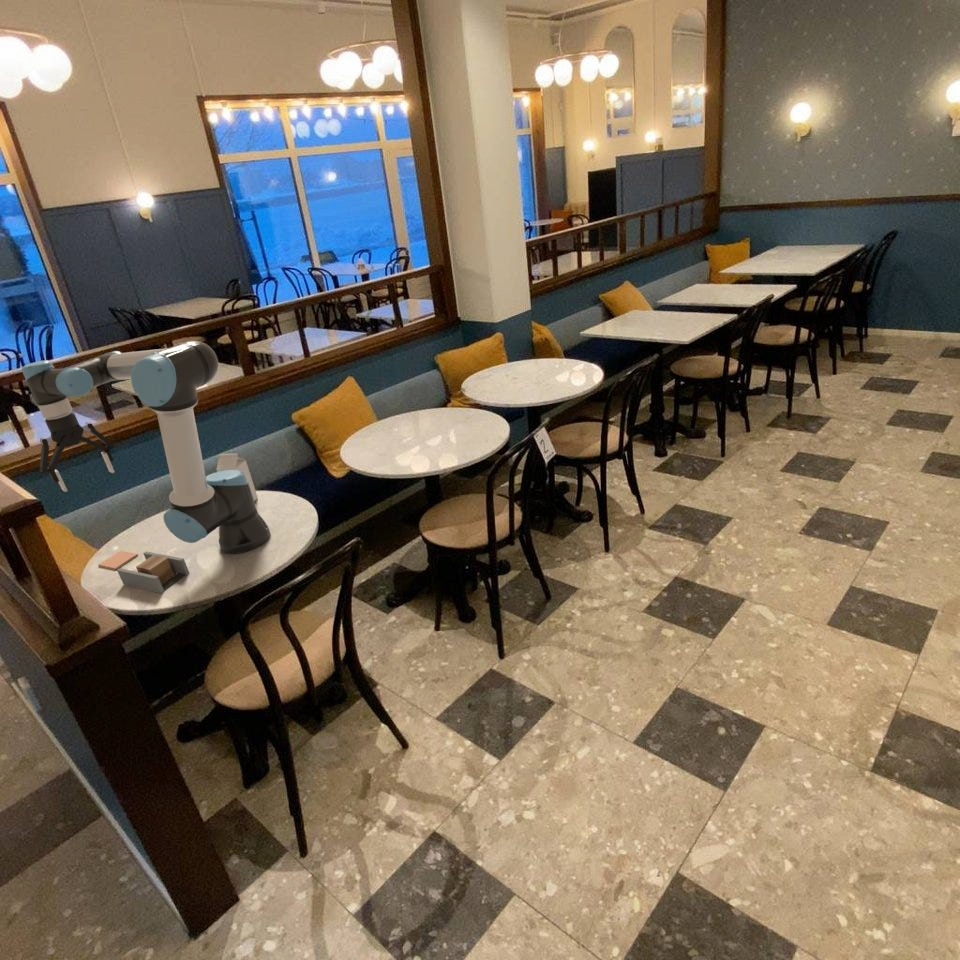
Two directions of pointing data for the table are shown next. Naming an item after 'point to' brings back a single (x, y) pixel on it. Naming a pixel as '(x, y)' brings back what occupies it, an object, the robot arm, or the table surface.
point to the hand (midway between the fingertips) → (89, 481)
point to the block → (156, 568)
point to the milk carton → (236, 468)
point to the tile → (118, 560)
